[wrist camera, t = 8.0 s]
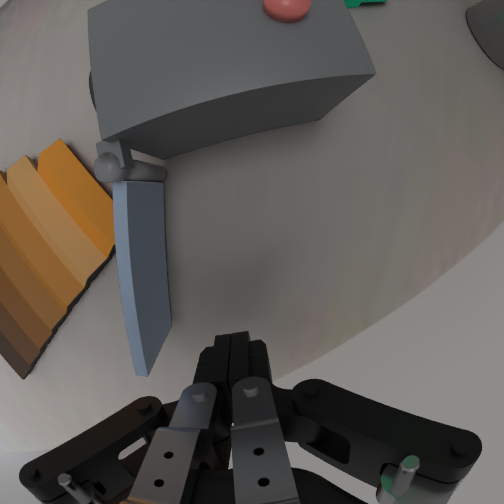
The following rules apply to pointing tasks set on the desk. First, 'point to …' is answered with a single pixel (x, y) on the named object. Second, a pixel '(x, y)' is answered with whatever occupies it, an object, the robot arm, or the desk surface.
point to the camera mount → (358, 2)
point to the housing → (214, 71)
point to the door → (142, 262)
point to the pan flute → (48, 248)
